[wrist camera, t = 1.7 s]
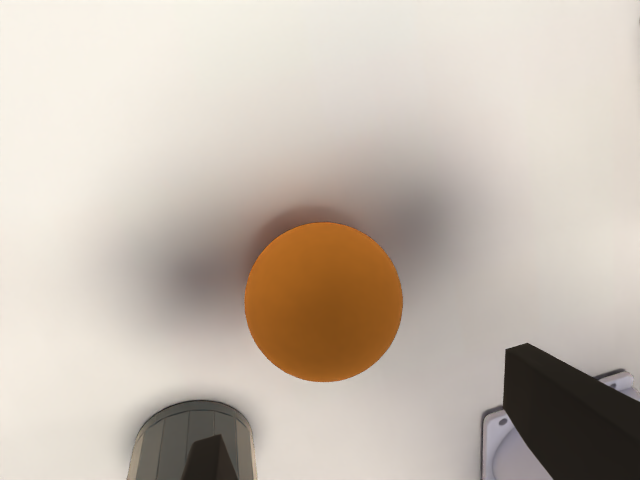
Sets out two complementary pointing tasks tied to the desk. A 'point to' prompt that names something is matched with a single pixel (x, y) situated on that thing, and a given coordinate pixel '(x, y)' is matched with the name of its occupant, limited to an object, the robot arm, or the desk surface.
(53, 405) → the desk surface
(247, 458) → the cup
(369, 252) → the ball
